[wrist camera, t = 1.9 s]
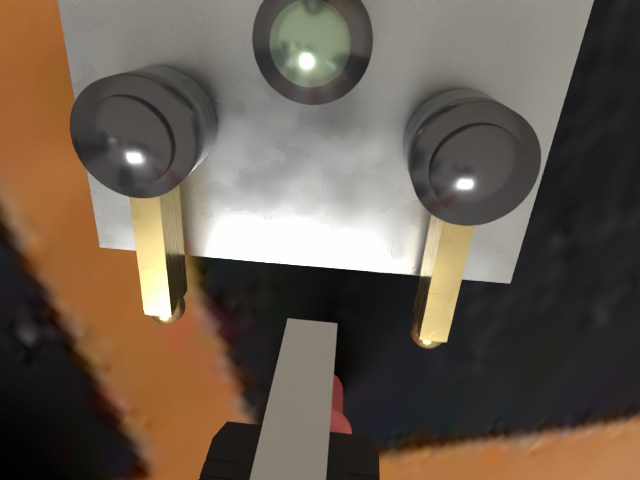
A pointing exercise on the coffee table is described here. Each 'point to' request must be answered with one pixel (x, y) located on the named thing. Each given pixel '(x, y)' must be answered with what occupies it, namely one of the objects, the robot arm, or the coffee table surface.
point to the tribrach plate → (327, 115)
